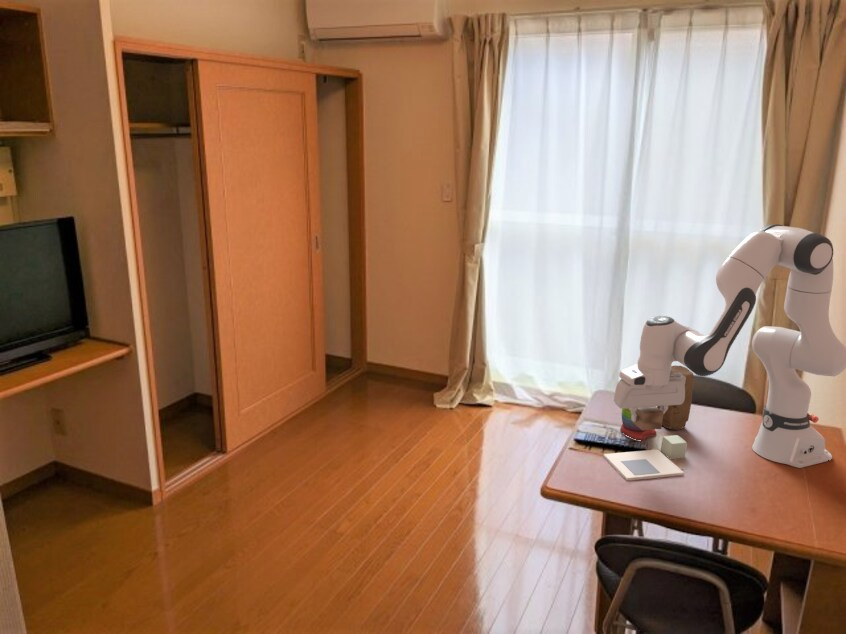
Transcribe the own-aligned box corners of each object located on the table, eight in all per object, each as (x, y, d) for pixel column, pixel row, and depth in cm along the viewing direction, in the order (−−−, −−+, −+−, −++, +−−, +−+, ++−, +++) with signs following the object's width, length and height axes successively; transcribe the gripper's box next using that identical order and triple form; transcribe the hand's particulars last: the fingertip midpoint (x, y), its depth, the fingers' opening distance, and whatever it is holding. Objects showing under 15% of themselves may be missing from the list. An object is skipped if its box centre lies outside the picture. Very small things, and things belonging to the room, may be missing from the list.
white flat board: (657, 451, 204) (657, 449, 203) (683, 475, 191) (684, 472, 190) (603, 456, 200) (603, 453, 200) (626, 480, 187) (626, 477, 186)
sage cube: (675, 449, 206) (677, 435, 204) (684, 457, 201) (687, 442, 199) (660, 451, 204) (662, 436, 203) (669, 458, 200) (672, 443, 198)
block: (689, 430, 218) (698, 373, 213) (668, 432, 217) (676, 374, 211) (671, 416, 229) (679, 362, 223) (651, 417, 227) (659, 362, 221)
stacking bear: (639, 443, 209) (646, 390, 204) (612, 431, 216) (618, 380, 211) (658, 434, 215) (665, 383, 210) (631, 422, 223) (638, 373, 218)
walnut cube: (649, 419, 192) (652, 403, 191) (661, 428, 187) (663, 412, 185) (631, 421, 191) (633, 405, 190) (641, 430, 185) (644, 413, 184)
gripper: (679, 368, 190) (673, 412, 193) (614, 371, 185) (608, 417, 189) (693, 376, 184) (685, 422, 188) (625, 380, 179) (619, 427, 183)
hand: (646, 419), depth 188 cm, fingers closed on walnut cube, 6 cm apart
